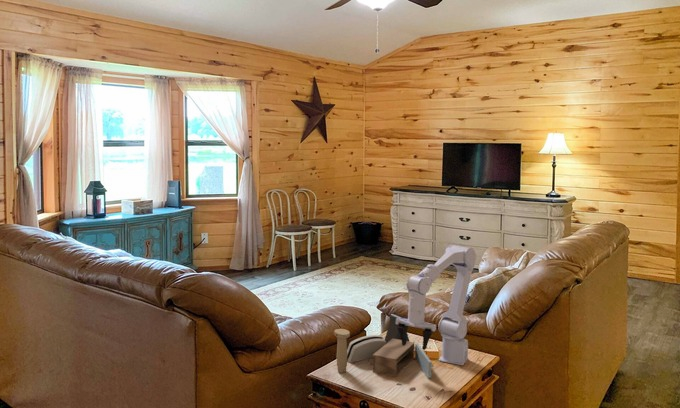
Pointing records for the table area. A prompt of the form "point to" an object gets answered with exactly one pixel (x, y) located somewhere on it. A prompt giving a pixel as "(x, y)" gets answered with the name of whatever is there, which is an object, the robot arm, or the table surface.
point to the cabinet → (393, 357)
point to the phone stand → (393, 329)
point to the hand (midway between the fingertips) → (414, 347)
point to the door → (423, 360)
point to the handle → (342, 349)
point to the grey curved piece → (364, 347)
